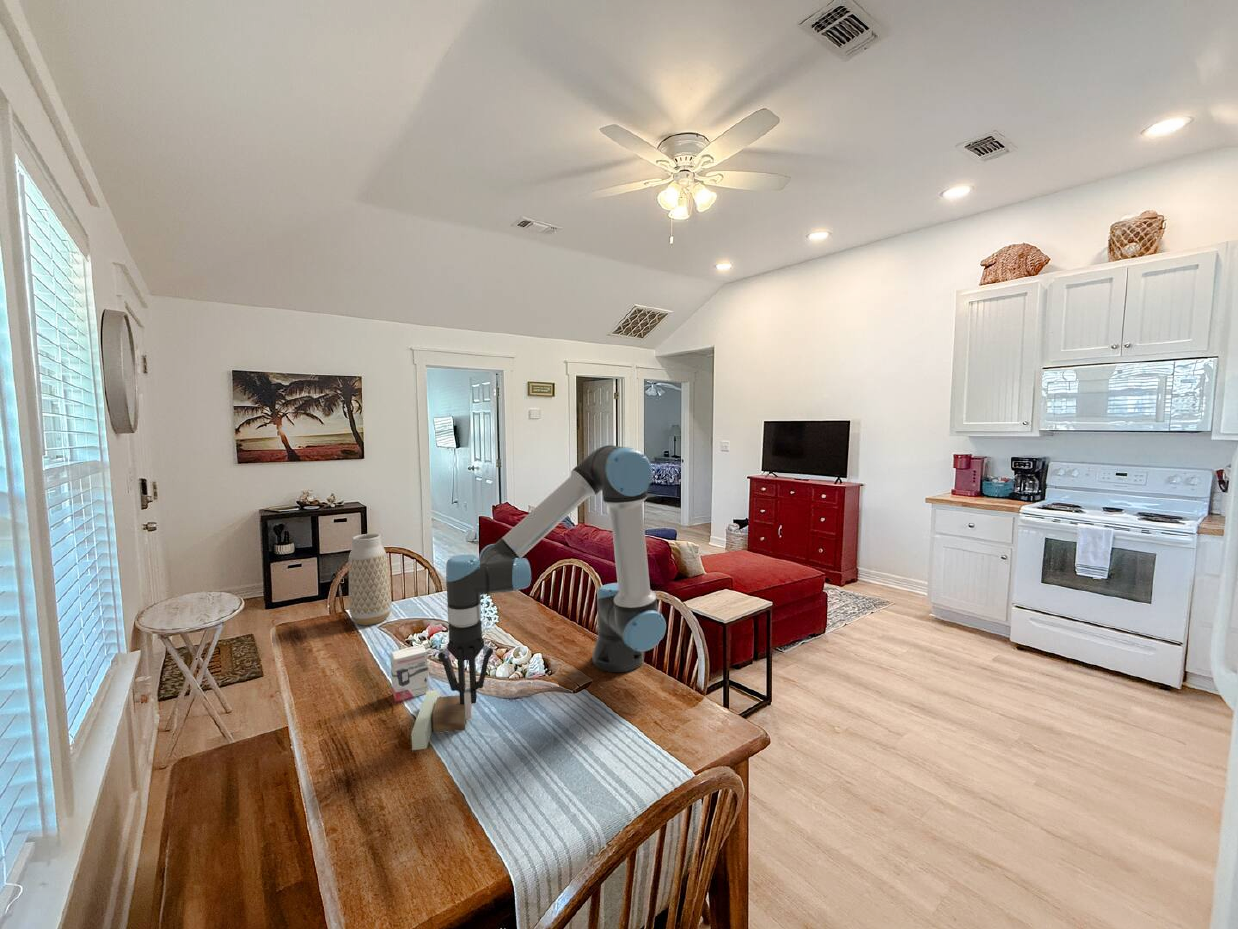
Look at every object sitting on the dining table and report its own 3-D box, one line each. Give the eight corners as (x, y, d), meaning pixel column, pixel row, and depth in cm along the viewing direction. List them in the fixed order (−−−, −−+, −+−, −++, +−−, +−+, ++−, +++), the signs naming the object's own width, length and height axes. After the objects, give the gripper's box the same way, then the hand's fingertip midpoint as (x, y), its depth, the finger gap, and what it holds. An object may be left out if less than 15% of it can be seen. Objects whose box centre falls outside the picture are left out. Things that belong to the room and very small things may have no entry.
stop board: (440, 704, 136) (439, 689, 136) (426, 748, 118) (425, 731, 118) (427, 705, 136) (426, 690, 135) (412, 750, 118) (411, 733, 117)
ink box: (396, 703, 137) (393, 659, 136) (392, 694, 141) (389, 651, 140) (430, 692, 142) (427, 650, 141) (425, 685, 146) (423, 643, 145)
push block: (468, 713, 132) (467, 694, 132) (464, 730, 125) (463, 710, 125) (438, 716, 131) (437, 697, 130) (433, 733, 124) (432, 713, 124)
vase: (385, 609, 201) (380, 530, 198) (397, 620, 191) (392, 536, 187) (346, 619, 192) (340, 536, 189) (356, 631, 182) (350, 543, 179)
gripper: (494, 613, 131) (497, 704, 133) (439, 617, 128) (443, 709, 131) (492, 625, 123) (495, 721, 126) (433, 629, 121) (438, 727, 124)
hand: (469, 715), depth 128 cm, fingers closed
